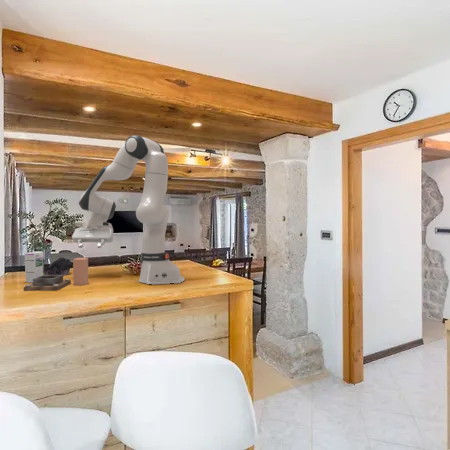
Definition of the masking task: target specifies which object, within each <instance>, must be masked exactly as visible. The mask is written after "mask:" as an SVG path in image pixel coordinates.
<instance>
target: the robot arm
mask: <svg viewBox="0 0 450 450" xmlns="http://www.w3.org/2000/svg"><path fill="white" fill-rule="evenodd" d="M140 161H142V162H144V164H145V169H144V170H145V173H144V183H143V191H142V195H141V199H140V202H139V205H138V206H137V207H136V210H135V216H136V217H135V218H136V219H137V220H138V221H139V222H140V223H142V225H145V228H144V232H143V234H142V236H141V254H140V263H141V269H140V275H139V279H138V282H139V283H142V284H147V285H149V284H152V285H166V284H167V285H169V284H170V283H174V284H181V282H182V283H184V282H185V276H183V275H181V271H180V267H178V266H177V264H176V263H175V264H174V262H172V261H171V260H170V255H169V253H168V252H166V232H167V228H168V227H167V226H168V220H169V217H170V210H169V208H168V207H167V206H166V205H165V204H163V203H164V198H165V196H166V193H167V191H168V178H169V177H168V176H169V162H168V157H167V155H166V154H165V152H164V148H163V146H162V145H161V144H160V143H158V142H155V141H154V140H152V139H149V138H146V137H144V136H141V135H137V134H134V135H130V136H129V137H127V139H126V140H125V142H124V144H122V145H121V147H120V148H119V150H118V151H117V153H116V155H115V157H114V159H113V161H112V162H111V163H109V165H107V166H106V165H105V166H103V167H102V168H101V169H100V171H99V172H98V173H97V174H96V176H94V178H93V180H92V181H91V183H90V184H89V186H88V187H87V188H86V189H85V191H84V192H83V193H82V194H81V195H80V196H79V197H80V198H79V199H78V204H79V206H80V208H81V210H84V211H87V212H91V215H90V218H89V220H88V223H87V226H83V227H82V226H78V227H77V228H75V229H74V232H73V233H72V235H71V239H72V242H74V243H78V249H83V247H84V244H83V243H98V244H97V248H98V249H102V246H104V245H105V244H106V243H112V242H113V241H114V227H113V225H112V223H110V222H107V221H109V220H110V219H112V218H113V217H114V215H115V211H116V208H117V205H116V202H115V201H114V200H112V199H110V198H107V197H105V196H101V195H99V194H96V191H97V190H98V189H99V187H100V186H101V184H103V182H105V181H123V180H128V179H129V178H130V177H131V176H132V175H133V173H134V171H135V168H136V166H137V164H138V162H140ZM183 281H184V282H183ZM170 285H171V284H170Z"/></svg>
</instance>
